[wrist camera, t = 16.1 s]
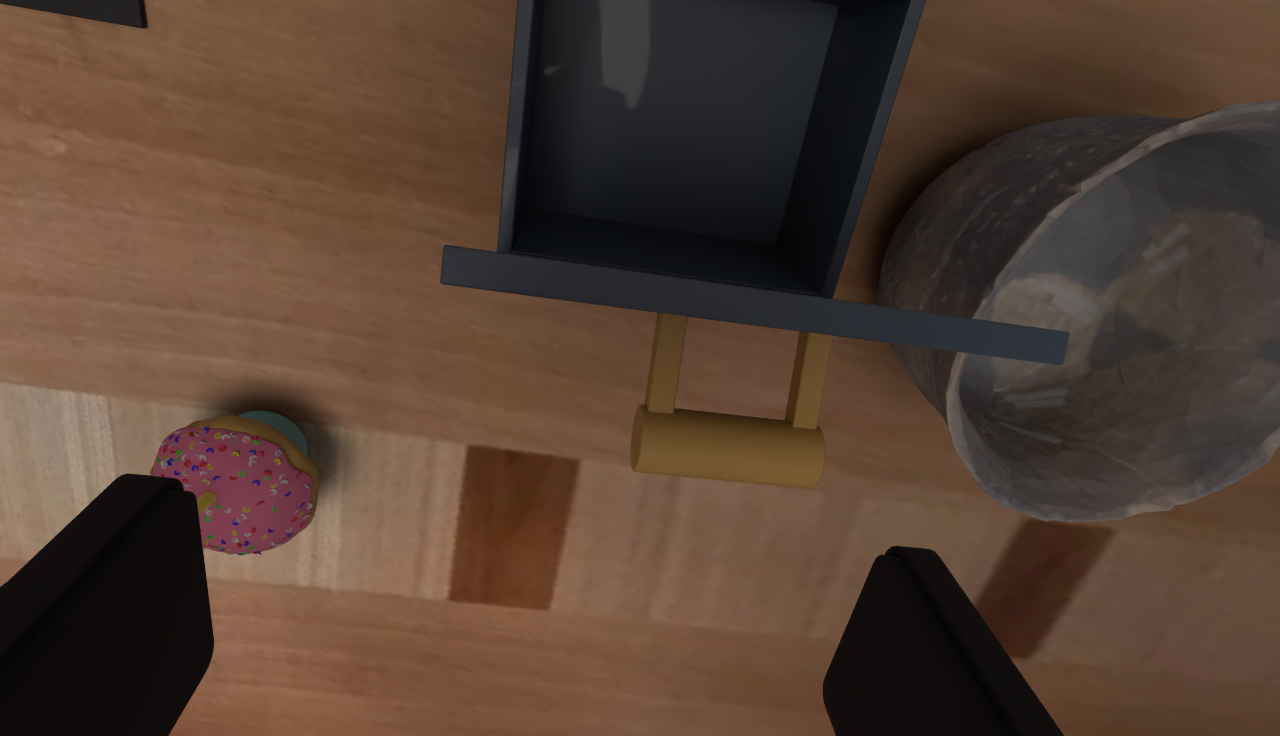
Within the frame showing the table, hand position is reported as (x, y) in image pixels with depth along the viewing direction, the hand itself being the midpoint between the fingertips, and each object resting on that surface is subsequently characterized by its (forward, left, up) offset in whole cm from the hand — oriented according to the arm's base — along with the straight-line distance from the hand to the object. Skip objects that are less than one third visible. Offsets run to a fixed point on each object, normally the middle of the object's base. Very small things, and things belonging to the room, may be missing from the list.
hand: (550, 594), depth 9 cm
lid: (0, +5, -14) cm, 15 cm away
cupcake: (+19, -16, -30) cm, 39 cm away
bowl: (0, +24, -30) cm, 38 cm away
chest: (-4, +5, -30) cm, 30 cm away
